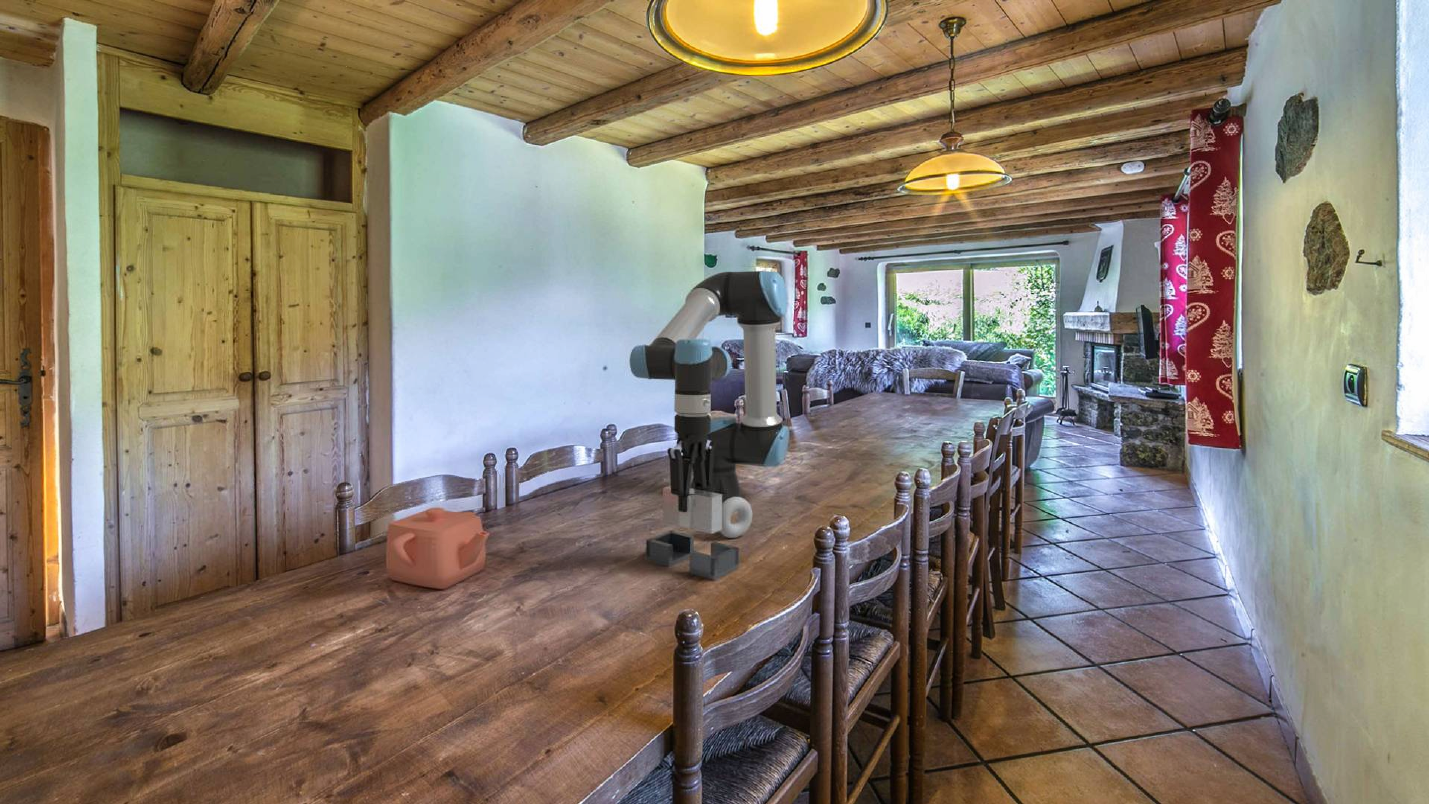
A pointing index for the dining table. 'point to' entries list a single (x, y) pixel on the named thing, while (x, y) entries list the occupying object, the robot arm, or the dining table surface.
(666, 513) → the light grey block
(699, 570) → the end link
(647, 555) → the end link
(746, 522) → the donut
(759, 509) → the dining table surface
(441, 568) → the teapot
